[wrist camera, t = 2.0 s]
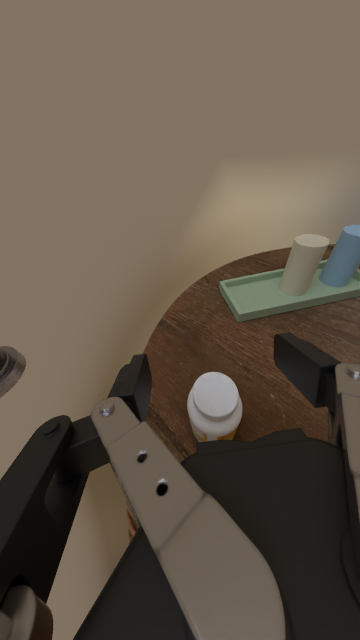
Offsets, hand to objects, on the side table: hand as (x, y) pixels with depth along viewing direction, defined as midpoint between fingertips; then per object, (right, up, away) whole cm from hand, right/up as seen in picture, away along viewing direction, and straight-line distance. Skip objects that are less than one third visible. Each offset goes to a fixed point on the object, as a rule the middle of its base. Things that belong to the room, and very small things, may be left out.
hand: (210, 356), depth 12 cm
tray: (+21, +8, +27) cm, 35 cm away
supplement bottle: (+2, -11, +12) cm, 16 cm away
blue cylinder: (+30, +11, +27) cm, 42 cm away
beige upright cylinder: (+21, +9, +27) cm, 35 cm away
